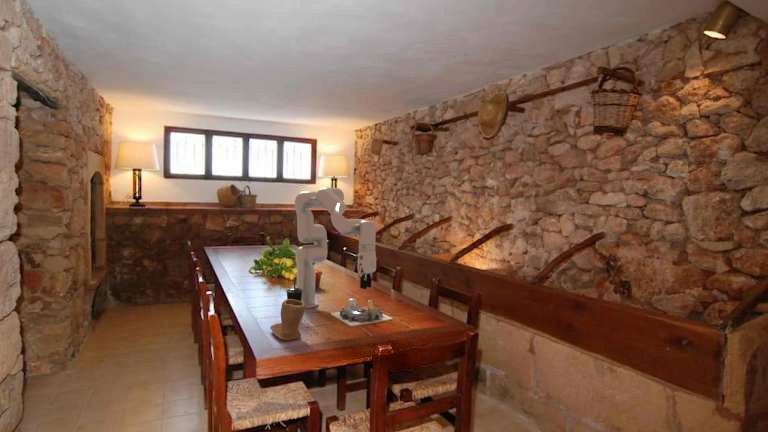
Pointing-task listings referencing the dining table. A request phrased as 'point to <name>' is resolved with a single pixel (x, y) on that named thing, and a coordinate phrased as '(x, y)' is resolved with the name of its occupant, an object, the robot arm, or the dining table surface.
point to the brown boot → (289, 320)
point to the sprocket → (361, 313)
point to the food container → (317, 278)
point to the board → (356, 323)
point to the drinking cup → (294, 292)
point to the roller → (351, 302)
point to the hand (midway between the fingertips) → (365, 287)
